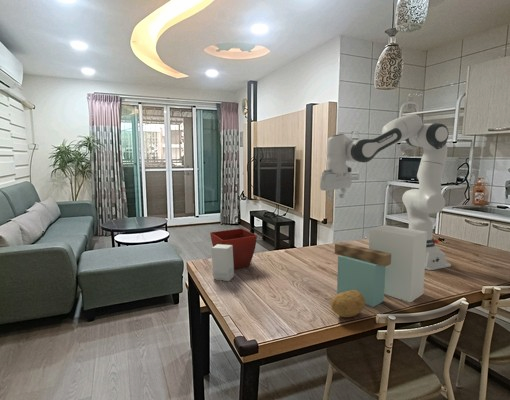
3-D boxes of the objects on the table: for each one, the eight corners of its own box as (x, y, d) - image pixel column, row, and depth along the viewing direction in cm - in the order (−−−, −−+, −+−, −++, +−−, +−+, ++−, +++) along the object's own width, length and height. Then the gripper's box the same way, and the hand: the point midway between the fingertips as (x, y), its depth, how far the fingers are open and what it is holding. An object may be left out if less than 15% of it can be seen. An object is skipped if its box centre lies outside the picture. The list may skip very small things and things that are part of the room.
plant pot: (223, 273, 154) (222, 240, 152) (210, 262, 171) (209, 232, 169) (258, 267, 163) (257, 235, 161) (242, 257, 180) (241, 228, 177)
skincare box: (234, 276, 150) (233, 244, 148) (228, 282, 143) (228, 248, 141) (218, 275, 152) (217, 243, 150) (212, 279, 146) (211, 247, 144)
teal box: (348, 288, 135) (349, 252, 133) (383, 300, 123) (385, 261, 121) (337, 293, 130) (338, 255, 128) (373, 307, 118) (375, 265, 116)
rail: (334, 253, 132) (334, 243, 131) (340, 251, 134) (340, 242, 134) (385, 266, 115) (386, 255, 115) (390, 264, 118) (391, 253, 117)
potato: (322, 315, 112) (323, 293, 111) (349, 304, 120) (349, 284, 119) (344, 327, 104) (345, 304, 103) (371, 315, 112) (372, 293, 111)
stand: (381, 281, 143) (383, 224, 140) (423, 293, 129) (427, 231, 126) (367, 288, 135) (369, 228, 132) (410, 302, 122) (414, 236, 118)
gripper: (328, 170, 139) (328, 201, 141) (354, 168, 153) (353, 197, 154) (316, 170, 144) (316, 200, 146) (342, 168, 157) (342, 196, 159)
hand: (336, 198), depth 150 cm, fingers open, 8 cm apart
